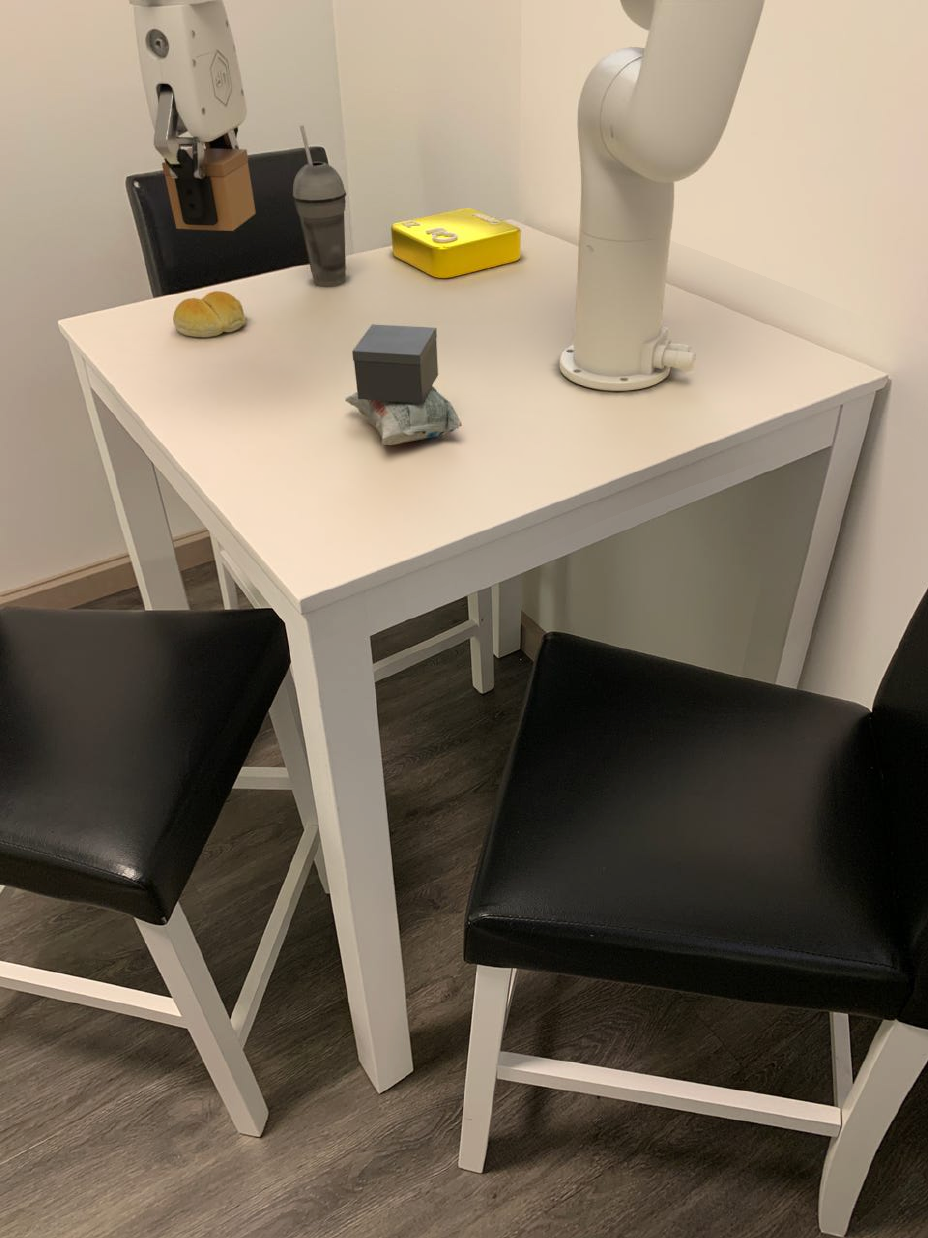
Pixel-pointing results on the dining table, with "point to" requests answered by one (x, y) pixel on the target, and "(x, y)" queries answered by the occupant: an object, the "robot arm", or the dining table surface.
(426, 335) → the charcoal box
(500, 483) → the dining table surface
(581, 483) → the dining table surface
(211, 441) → the dining table surface
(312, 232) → the beverage cup
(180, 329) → the bread roll
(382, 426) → the packaged food
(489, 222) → the element tile
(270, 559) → the dining table surface
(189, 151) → the kraft box
